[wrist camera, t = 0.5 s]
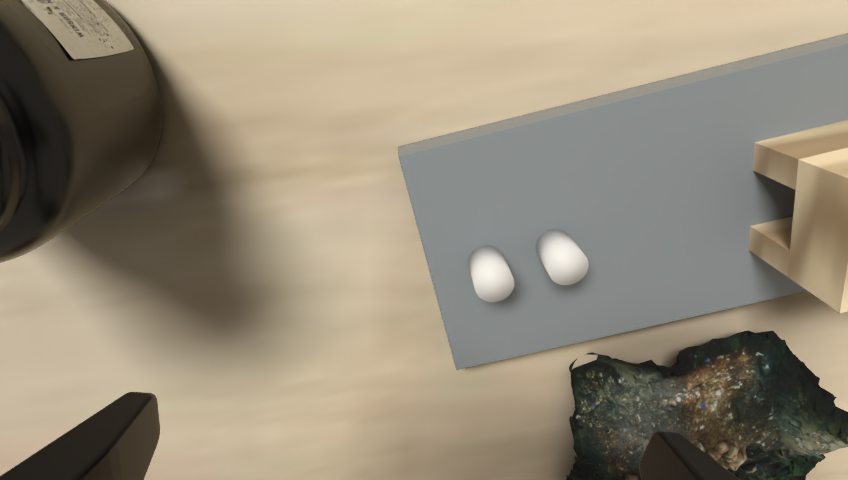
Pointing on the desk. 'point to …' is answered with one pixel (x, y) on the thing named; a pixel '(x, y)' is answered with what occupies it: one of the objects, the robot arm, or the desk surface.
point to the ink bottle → (69, 116)
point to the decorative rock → (707, 410)
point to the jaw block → (809, 210)
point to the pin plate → (615, 204)
